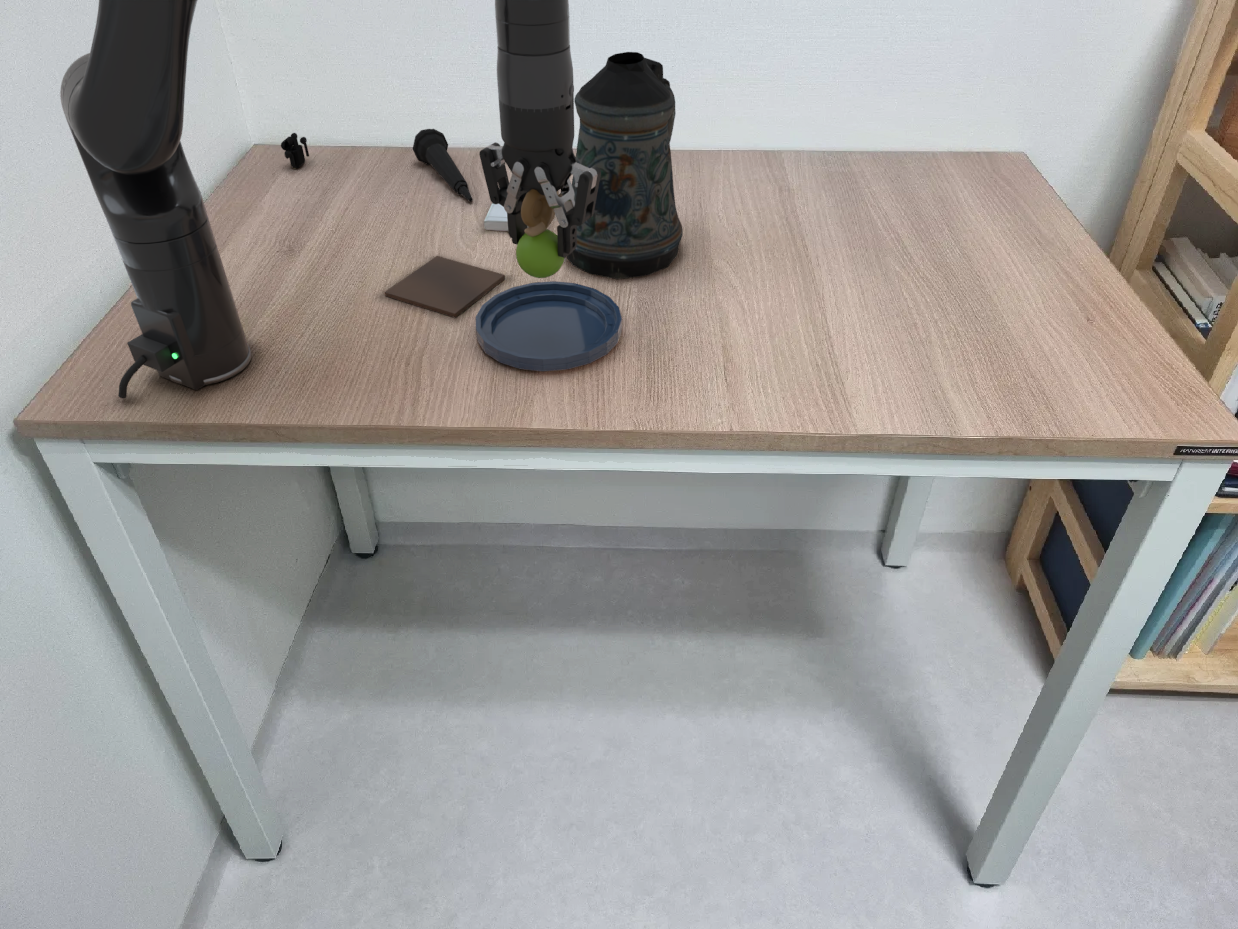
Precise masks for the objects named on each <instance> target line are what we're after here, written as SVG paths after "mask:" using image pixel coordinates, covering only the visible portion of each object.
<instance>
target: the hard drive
mask: <svg viewBox="0 0 1238 929" xmlns="http://www.w3.org/2000/svg"><path fill="white" fill-rule="evenodd" d="M483 227H484V230H487V231H499V232H508V220H507V212H506V211H505V209H504V207H503V206H502V205H500V204H499V203H498V204H493V203H492V202H491V205H490V207H489V209H488V212H487V214H486V216H485V218H484V220H483ZM527 228H528V226H527Z"/></svg>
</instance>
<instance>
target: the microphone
mask: <svg viewBox="0 0 1238 929" xmlns="http://www.w3.org/2000/svg"><path fill="white" fill-rule="evenodd" d="M448 148H449V143H448V141H447V139H446V137H445V135H444V133H443V132H441V131H439V130H438V129H435V128H425V129H420V131H419V132H418V133H416V135H415V136H414V140H413V145H412V151H413V153H414V155H415V157H416V159H417V160H418V161H419V162H421V163H423V164H425V165H427V166H428V165H429V166H431V167H432V168H433V169H434V171H436V172H437V174H438V175H439V176H440V177H441V178H442V179H443V180H444V181H445V183H446V184H447V185H448V186H449V187H450V188H451V189H452V190H453V191H454V192H455V193H456V194H458V195H459V196H463V197H464V198H465V199H466V200H467V201H468V202H469V203H472V202H473V200H474V199H473V196H472V194H471V192H470V189H469V184H468V183H467V180H466V179H465V177H464V176H463V174H462V172H461V171H460V169H459V168H458V166H457V164H456V163H455V161H454V160H453V158H452V156H451V155H450V153H449V152H448Z"/></svg>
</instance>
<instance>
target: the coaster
mask: <svg viewBox="0 0 1238 929" xmlns="http://www.w3.org/2000/svg"><path fill="white" fill-rule="evenodd" d="M505 279H506V275H505V274H504V273H500V272H496V271H493V270H489V269H486V268H481V267H478V266H475V265H471V264H468V263H464V262H462V261H461V262H460V261H458V260H457V261H456V260H455V259H450V258H446V257H443V256H440V255H436V256H434V257H433V258H431V259H430V260H428V261H427V262H426V263H424V264H423V265H421V266H420V267H419V268H417V269H415V270H414V271H413V272H411V273H410V274H408V275H407V276H406V277H404V278H403V279H401V280H400V281H398V282H396V284H394V285H393V286H391V287H389V288H388V289H387V290H386V291H384V296H385V297H387V298H390V299H393V300H397V301H400V302H403V303H407V304H410V305H412V306H413V305H414V306H417V307H420V308H423V309H426V310H430V311H433V312H436V313H440V314H441V315H442V314H443V315H446V316H449V317H452V318H457V317H459V316H460V315H461V314H463V313H464V312H465V311H466V310H468V308H470V307H471V306H473V305H474V304H475V303H476V302H477V301H479V300H480V299H482V297H484V296H485V295H486V294H488V293H489V292H490V291H491V290H494V288H496V287H497V286H498V285H499V284H500V283H502V282H503V281H505Z"/></svg>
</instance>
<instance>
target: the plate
mask: <svg viewBox="0 0 1238 929" xmlns="http://www.w3.org/2000/svg"><path fill="white" fill-rule="evenodd" d="M622 317H623V316H622V313H621V310H620V307H619V306H618V305H617V303H616V302H615V301H614V300H613V299H612V298H611V297H610V296H609V295H607V294H605V293H603V292H602V291H600V290H598V289H596V288H594V287H590V286H587V285H583V284H580V283H576V282H566V281H558V280H557V281H556V280H554V281H553V280H551V281H538V282H530V283H525V284H521V285H517V286H512V287H510V288H507V289H506V290H503V291H501V292H498V293H497V294H494V295H493V296H492V297H490V298H489V299H488V300H487V301H486V302H484V303H483V304H482V305H481V307H480V308H479V310H478V312H477V314H476V315H475V317H474V318H475V319H474V320H475V333H476V334H475V335H476V341H477V343H478V344H479V346H480V347H481V349H482V350H483V352H484V353H485V355H487V356H489V357H491V358H492V359H493V360H495V361H497V362H498V363H500V364H503V365H506V366H509V367H512V368H515V369H519V370H524V371H525V370H526V371H536V372H551V371H553V372H555V371H566V370H571V369H574V368H578V367H582V366H586V365H589V364H591V363H593V362H595V361H597V360H599V359H601V358H602V357H604V356H607V355H608V354H609V352H611V350H613V349H614V348H615V347H616V346H617V344H619V341H620V337H621V334H622V332H623V318H622Z"/></svg>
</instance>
